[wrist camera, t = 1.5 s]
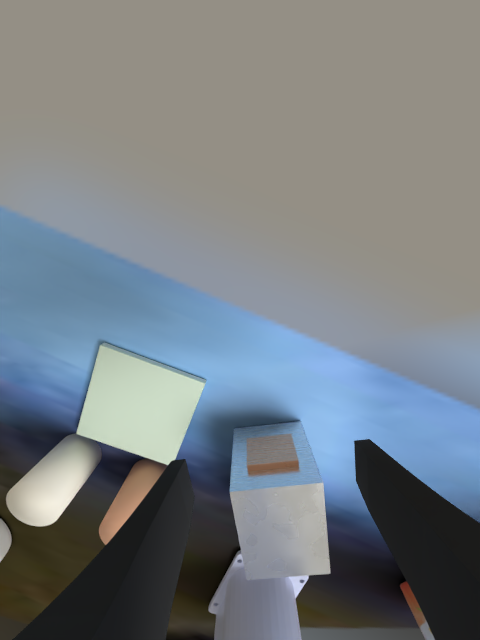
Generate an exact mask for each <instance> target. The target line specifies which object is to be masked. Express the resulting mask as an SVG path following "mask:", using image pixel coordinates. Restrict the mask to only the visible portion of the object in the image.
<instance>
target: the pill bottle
mask: <svg viewBox="0 0 480 640" xmlns="http://www.w3.org/2000/svg"><path fill="white" fill-rule="evenodd" d="M11 542H12V537H11V533H10V530H9V528H8V527H7V525H6V524H5V522H4V521H3V520H2V519H1V518H0V562H1V560H2V559H3V558H4V556H5V555H6V553H7V552H8V550H9V548H10V546H11Z"/></svg>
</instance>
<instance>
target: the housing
mask: <svg viewBox="0 0 480 640" xmlns="http://www.w3.org/2000/svg"><path fill="white" fill-rule="evenodd" d="M230 496H231V502H232V507H233V512H234V517H235V522H236V527H237V532H238V538H239V543H240V548H241V553H242V558H243V563H244V568H245V574H246V579H247V580H255V579H268V578H281V577H294V576H307V575H320V574H330V562H329V549H328V537H327V524H326V512H325V500H324V487H323V481H322V478H321V475H320V473H319V470H318V467H317V464H316V462H315V459H314V456H313V453H312V450H311V448H310V445H309V442H308V439H307V436H306V434H305V431H304V428H303V425H302V423H301V421H296V422H287V423H278V424H269V425H261V426H252V427H243V428H234V435H233V450H232V465H231V479H230Z"/></svg>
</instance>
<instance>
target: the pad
mask: <svg viewBox="0 0 480 640" xmlns="http://www.w3.org/2000/svg"><path fill="white" fill-rule="evenodd" d="M205 383H206V380H205V379H202V378H199V377H197V376H194V375H191V374H188V373H186V372H183V371H180V370H178V369H175V368H172V367H169V366H167V365H164V364H161V363H159V362H156V361H153V360H150V359H148V358H145V357H142V356H140V355H137V354H134V353H132V352H129V351H126V350H123V349H121V348H118V347H115V346H113V345H110V344H107V343H103V344H101V345H100V347H99V351H98V355H97V359H96V362H95V366H94V370H93V374H92V377H91V381H90V385H89V388H88V392H87V396H86V400H85V403H84V407H83V411H82V415H81V418H80V422H79V426H78V429H77V433H76V434H78V435H81V436H84V437H87V438H90V439H93V440H96V441H99V442H102V443H104V444H107V445H110V446H113V447H116V448H119V449H122V450H125V451H128V452H131V453H134V454H137V455H140V456H143V457H146V458H149V459H152V460H154V461H157V462H160V463H163V464H166V465H169V463H170V462H171V461H173V460H175V458H176V456H177V453H178V451H179V448H180V446H181V443H182V441H183V438H184V436H185V433H186V431H187V428H188V426H189V423H190V421H191V418H192V416H193V413H194V411H195V408H196V406H197V403H198V401H199V398H200V396H201V393H202V391H203V388H204V386H205Z"/></svg>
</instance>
